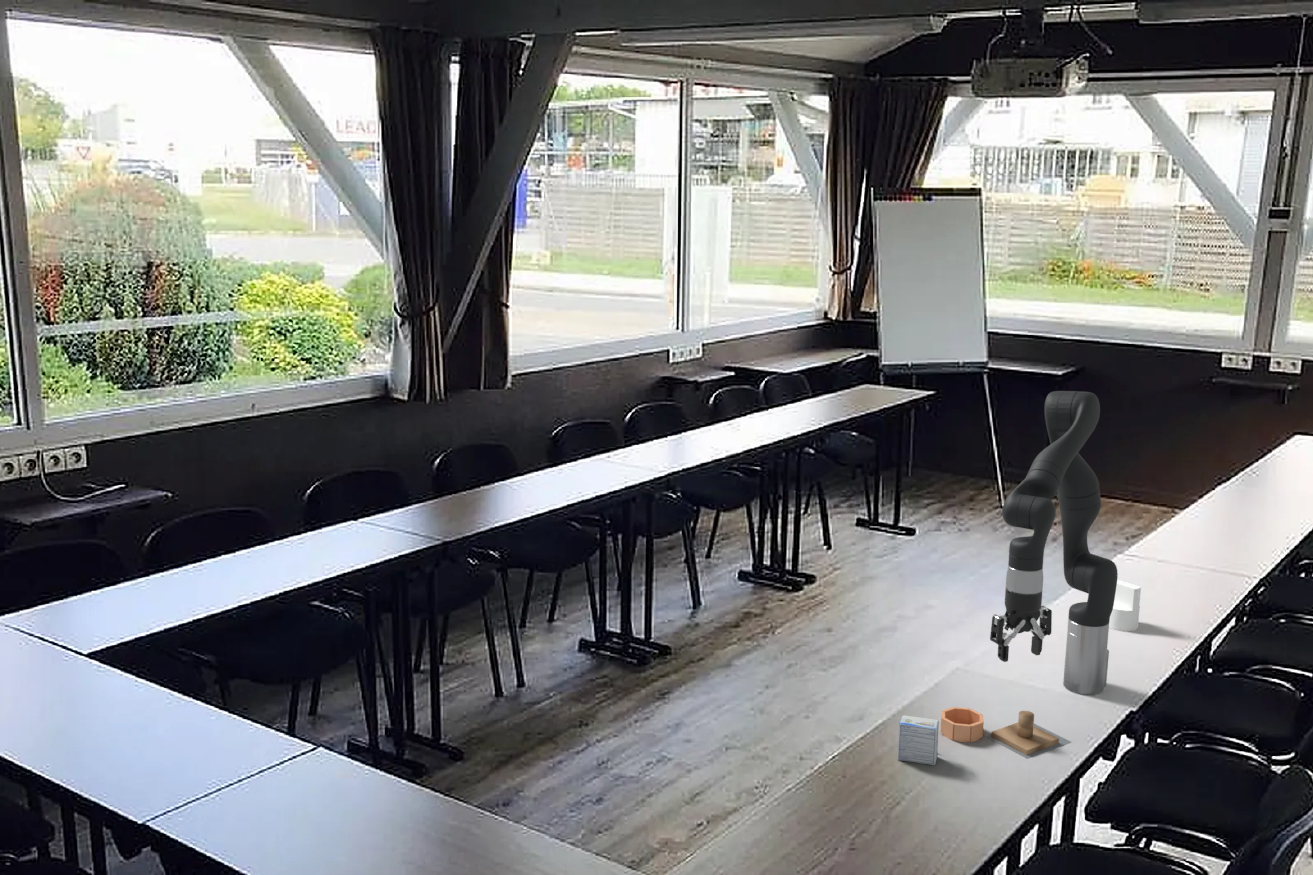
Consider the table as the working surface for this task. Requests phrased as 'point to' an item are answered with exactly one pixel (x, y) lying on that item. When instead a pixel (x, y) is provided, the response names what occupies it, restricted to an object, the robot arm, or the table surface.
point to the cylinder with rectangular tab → (1125, 607)
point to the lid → (1025, 735)
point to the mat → (1061, 742)
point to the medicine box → (918, 740)
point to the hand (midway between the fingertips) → (1019, 657)
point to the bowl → (962, 724)
